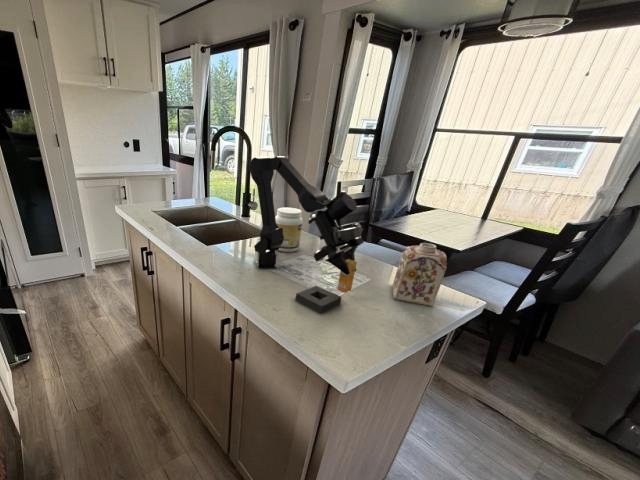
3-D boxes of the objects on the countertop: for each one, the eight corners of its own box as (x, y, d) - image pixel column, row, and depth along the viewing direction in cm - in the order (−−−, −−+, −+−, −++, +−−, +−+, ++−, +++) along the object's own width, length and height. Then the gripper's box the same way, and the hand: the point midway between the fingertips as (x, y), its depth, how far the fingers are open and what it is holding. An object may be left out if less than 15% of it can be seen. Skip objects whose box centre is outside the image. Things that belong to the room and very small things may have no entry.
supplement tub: (300, 253, 141) (306, 214, 133) (272, 252, 141) (276, 212, 133) (296, 244, 152) (301, 207, 144) (270, 242, 152) (274, 206, 144)
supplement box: (342, 286, 107) (348, 258, 102) (351, 290, 104) (358, 262, 100) (335, 289, 105) (342, 260, 100) (344, 293, 103) (351, 264, 98)
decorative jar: (432, 307, 103) (453, 253, 95) (393, 299, 107) (409, 247, 98) (427, 291, 113) (445, 241, 105) (392, 285, 117) (406, 236, 108)
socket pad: (295, 300, 103) (296, 293, 102) (315, 292, 109) (316, 285, 108) (320, 313, 97) (321, 306, 96) (340, 304, 103) (341, 297, 102)
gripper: (329, 219, 90) (354, 269, 89) (365, 211, 101) (389, 255, 99) (303, 238, 99) (326, 284, 98) (339, 229, 110) (360, 270, 108)
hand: (351, 273), depth 101 cm, fingers closed on supplement box, 3 cm apart
